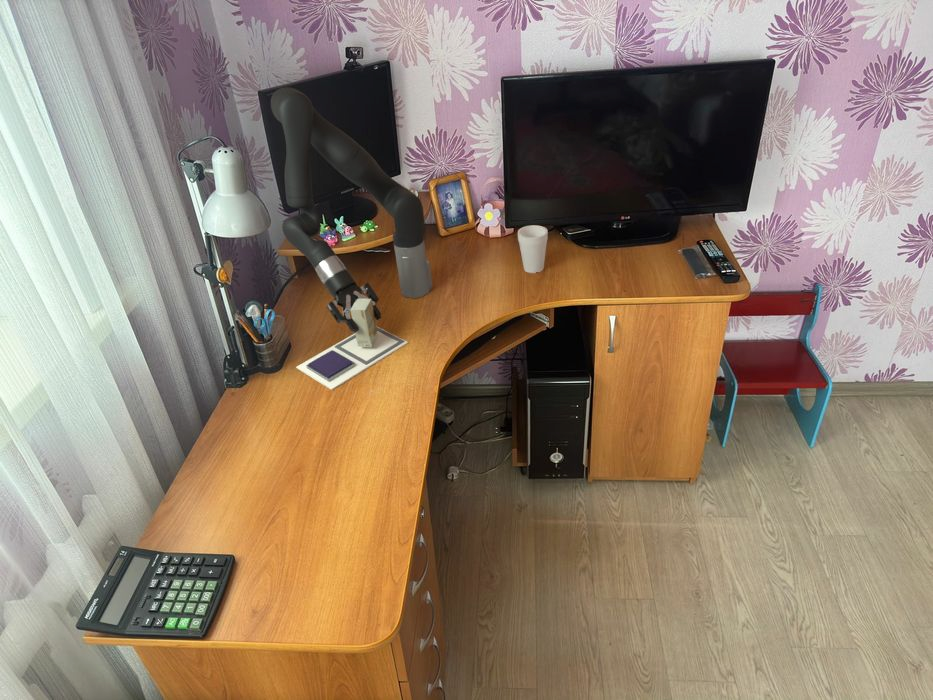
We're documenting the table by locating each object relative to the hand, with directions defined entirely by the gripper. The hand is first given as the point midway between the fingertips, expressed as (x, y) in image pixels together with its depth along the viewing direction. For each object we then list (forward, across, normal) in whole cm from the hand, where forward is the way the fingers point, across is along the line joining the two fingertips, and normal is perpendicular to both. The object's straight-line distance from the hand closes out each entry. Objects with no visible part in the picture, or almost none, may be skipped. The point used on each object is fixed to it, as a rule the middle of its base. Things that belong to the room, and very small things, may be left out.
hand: (368, 324), depth 192 cm
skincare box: (+3, 0, +6) cm, 6 cm away
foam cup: (+11, +62, 0) cm, 63 cm away
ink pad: (+4, -14, +6) cm, 15 cm away
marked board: (+4, -6, +6) cm, 10 cm away
